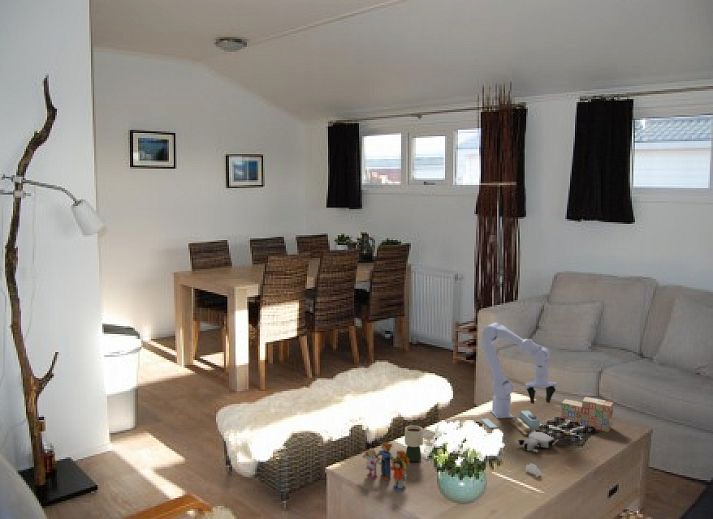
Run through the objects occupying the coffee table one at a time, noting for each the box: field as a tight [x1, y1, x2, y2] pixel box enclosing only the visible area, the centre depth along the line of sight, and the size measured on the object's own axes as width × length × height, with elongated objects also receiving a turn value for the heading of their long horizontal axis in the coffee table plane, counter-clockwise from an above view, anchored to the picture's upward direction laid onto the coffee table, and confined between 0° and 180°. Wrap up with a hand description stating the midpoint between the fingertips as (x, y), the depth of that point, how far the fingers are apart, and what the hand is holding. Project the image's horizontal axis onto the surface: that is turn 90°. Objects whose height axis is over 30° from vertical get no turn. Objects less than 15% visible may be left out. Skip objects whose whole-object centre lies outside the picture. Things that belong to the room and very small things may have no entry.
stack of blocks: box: [560, 396, 614, 433], centre depth 290 cm, size 21×6×12 cm, turn 57°
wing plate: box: [480, 418, 498, 430], centre depth 290 cm, size 10×4×1 cm, turn 14°
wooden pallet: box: [509, 416, 543, 437], centre depth 285 cm, size 16×12×3 cm
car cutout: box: [525, 462, 542, 478], centre depth 244 cm, size 15×7×4 cm, turn 42°
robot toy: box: [514, 430, 559, 453], centre depth 265 cm, size 12×4×15 cm
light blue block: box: [519, 410, 541, 431], centre depth 285 cm, size 12×4×6 cm, turn 9°
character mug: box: [404, 425, 424, 462], centre depth 252 cm, size 11×7×13 cm, turn 34°
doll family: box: [361, 442, 411, 492], centre depth 235 cm, size 21×10×13 cm, turn 46°
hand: (540, 402), depth 290 cm, fingers open, 7 cm apart
